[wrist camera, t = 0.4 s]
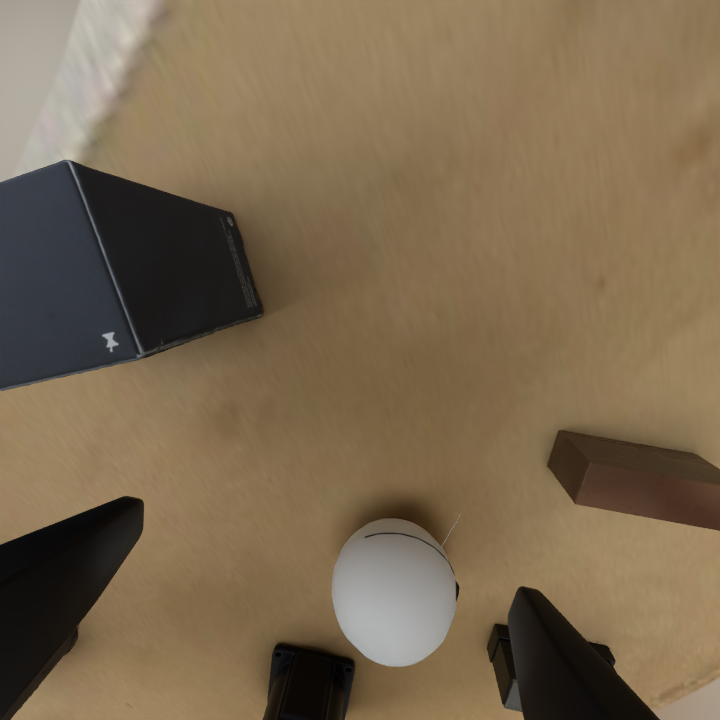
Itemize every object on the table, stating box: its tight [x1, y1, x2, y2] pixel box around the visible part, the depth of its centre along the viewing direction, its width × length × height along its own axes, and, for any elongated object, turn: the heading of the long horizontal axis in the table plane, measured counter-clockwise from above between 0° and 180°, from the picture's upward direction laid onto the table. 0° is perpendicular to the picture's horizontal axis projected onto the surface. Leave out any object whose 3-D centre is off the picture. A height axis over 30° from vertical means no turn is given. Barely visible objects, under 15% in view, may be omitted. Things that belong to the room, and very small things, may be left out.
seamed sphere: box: [332, 514, 461, 667], centre depth 21 cm, size 10×7×7 cm
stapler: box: [487, 624, 617, 712], centre depth 24 cm, size 2×8×4 cm, turn 81°
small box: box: [0, 160, 263, 391], centre depth 16 cm, size 11×6×10 cm, turn 103°
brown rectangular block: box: [548, 431, 720, 531], centre depth 20 cm, size 2×8×4 cm, turn 81°
